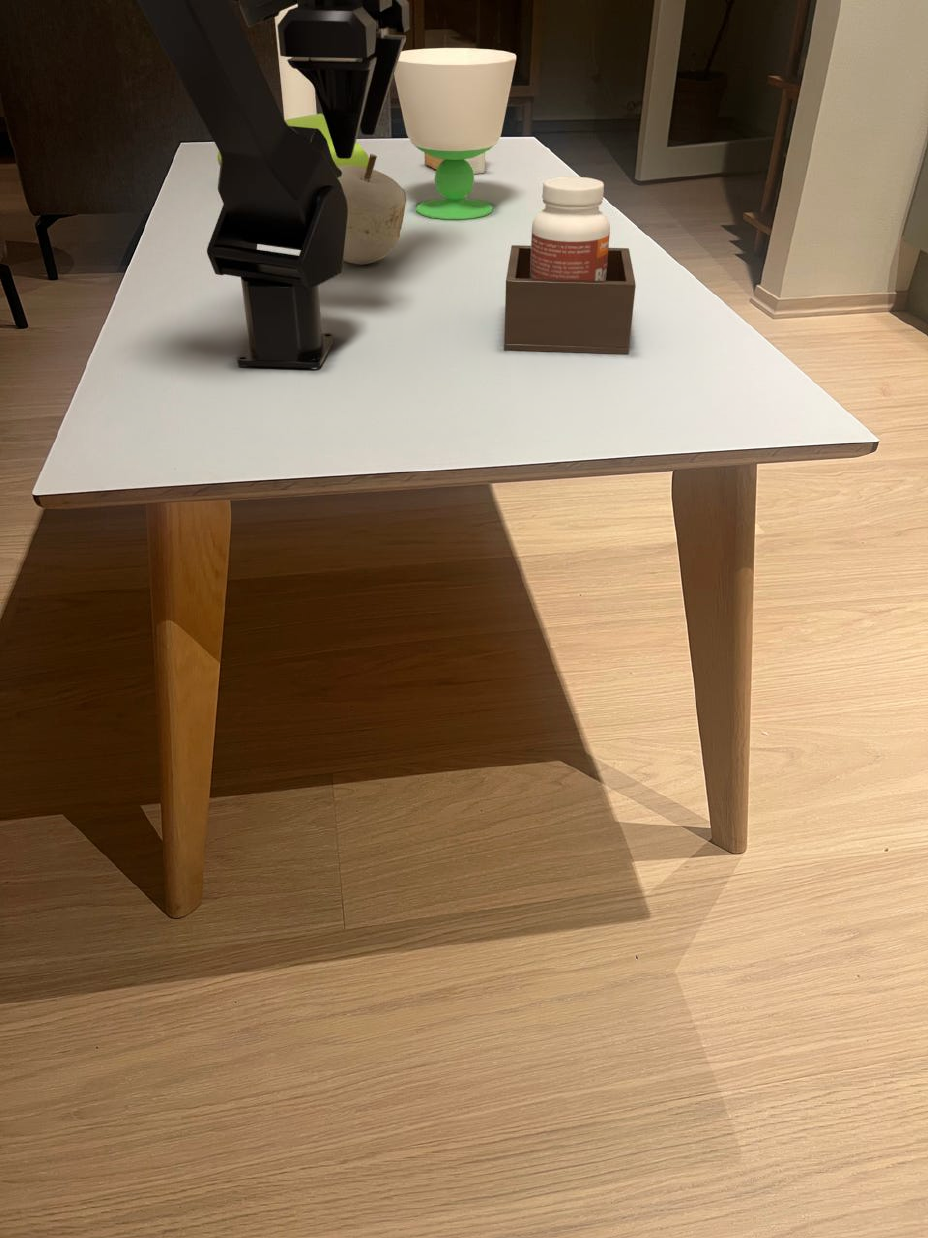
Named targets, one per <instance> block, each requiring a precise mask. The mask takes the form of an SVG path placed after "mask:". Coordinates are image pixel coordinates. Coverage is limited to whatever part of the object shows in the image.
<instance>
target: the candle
mask: <svg viewBox="0 0 928 1238" xmlns="http://www.w3.org/2000/svg"><path fill="white" fill-rule="evenodd" d="M296 7H298V4H296V5H294V6H291V7H289V8H287V9H285V10H282V11H280V13H279V15H278V16H276V17H274V24H275V34H276V35H275V36H276V45H277V53H278V54H277V56H278V65H279V74H280V75H279V76H280V86H281V98H282V107H283V108H282V109H283V118H284V120H287V119H292V118H297V117H303V116H309V115H315V114H318V112H317V100H316V91H315V88H314V86H313V84H312V83H311V82H310V81H309V80H308V79H307V78H306V77H305V76H304V75H302V74H301V73H300V72H299V71H298V70H297V69H294V68H292V67H291V66H290V65H289V63H288V61H287V60H288V59H290V58H292V57H284V56H280V47H279V37H278V26H277V25H278V24H279V23H280V21H281V20H282V19H283V17H284V16H285V15H286V13H287V12H288V11H289V10H290V9H293V8H296Z"/></svg>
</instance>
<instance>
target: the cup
mask: <svg viewBox="0 0 928 1238" xmlns="http://www.w3.org/2000/svg"><path fill="white" fill-rule="evenodd" d="M516 62H517V55H516V53H513V52H509V51H505V50H497V49H489V48H472V47H438V48H437V47H436V48H435V47H434V48H419V49H408V50H403V51H401V54H400V57H399V60H398V63H397V66H396V69H395V72H394V75H393V77H394V81H395V86H396V90H397V96H398V100H399V104H400V108H401V113H402V118H403V119H402V120H403V123H404V128H405V133H406V136H407V138H408V139H409V141H410V143H411V144H412V145H413V146H414V147H416V148H417V149H418V150H419V151H420V152H423V153H424V152H425V153H427V154H429V155H431V156H433V157H435V158H439V159H445V160H443V161H442V162H441V163H440V164H439V166H438V168H437V169H435V173H434V174H435V176H434V184H435V188H436V190H437V191H438V193H439V194H440V195H441V196H443V197H444V198H438V199H431V200H426V201H423V202H421V203H419V204H417V205H416V208H415V211H416V213H418V214H419V215H421V216H423V217H427V218H431V219H438V220H439V219H440V220H458V221H459V220H471V219H477V218H478V219H479V218H482V217H486V216H487V215H489V214H491V213H492V212H493V208H494V206H493V205H491V204H489V203H488V202H485V201H483V200H478V199H470V198H465V197H467V196H468V195H469V194H470V192H471V191H472V189H473V186H474V181H475V174H473V170H472V168H471V166H470V165H469V163H468V162H467V161H465V160H464V159H469V158H473V157H476V156H478V155H480V154H482V153H484V152H485V153H486V152H488V151H490V150H491V149H492V148H493V147H494V146H495V145H497V143H498V141H499V139H500V138H501V137H502V131H503V127H504V122H505V117H506V112H507V107H508V101H509V98H510V92H511V87H512V82H513V78H514V74H515V73H514V72H515V66H516Z"/></svg>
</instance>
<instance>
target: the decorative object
mask: <svg viewBox="0 0 928 1238" xmlns="http://www.w3.org/2000/svg"><path fill="white" fill-rule="evenodd" d="M377 157H378V156H377V155H376V154H373V153H370V154H369V162H368V165H367V168H365V167H360V166H352V165H349V166H340V167H338V168H339V169H340V170H341V171H342V176H341V177H339V178H338V179H339V181H340V183H341V185H342V188H343V192H344V194H345V197H346V200H347V205H348V218H347V228H346V237H345V246H344V256H343V262H345V263H348V264H353V265H360V266H361V265H363V266H364V265H370V264H374V263H376V262H378V261H380V260H382V259H383V258H385V257H386V256H388V254H389V253H390V252H391V251H392V250H393V248H394V247H395V246H396V244H397V243H398V242H399V239H400V237H401V231H402V227H403V223H404V217H405V212H406V211H405V210H406V205H407V204H406V203H407V194H406V191H405V190H404V189H403V187H402V186H401V185H400V184H399V183H398V182H397V181H396V180H395V179H394V178H392V177H390V176H389V175H388V174H385V173H383V172H380V171H378V170H376V169H374V168H375V165H376V162H377Z"/></svg>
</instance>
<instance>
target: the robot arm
mask: <svg viewBox="0 0 928 1238" xmlns="http://www.w3.org/2000/svg"><path fill="white" fill-rule="evenodd" d="M136 1H137V3H138V4H139V6H140V8H141V10H142V12H143V14H144V16H145V18H146V19H147V21H148V23H149V25H150V27H151V28H152V30H153V32H154V34H155V36H156V38H157V39H158V42H159V43H160V45H161V47H162V49H163V51H164V52H165V54H166V56H167V58H168V60H169V61H170V63H171V66H172V67H173V69H174V71H175V72H176V74H177V76H178V78H179V80H180V82H181V84H182V85H183V87H184V89H185V91H186V93H187V95H188V96H189V99H190V100H191V102H192V104H193V105H194V108H195V109H196V111H197V114H198V115H199V116H200V119H201V121H202V122H203V124H204V126H205V127H206V129H207V131H208V134H209V136H210V137H211V139H212V140H213V143H214V144H215V146H216V148H217V150H218V152H220V155H221V164H220V165H219V174H218V182H217V191H218V194H219V196H220V198H221V201H222V203H223V205H222V207H221V210H220V213H219V215H218V218H217V221H216V223H215V226H214V229H213V231H212V234H211V237H210V240H209V242H208V244H207V248H206V254H207V257H208V259H209V262H210V264H211V267H212V269H213V272H214V274H215V275H216V276H217V275H218V276H232V277H237V278H240V283H241V290H242V299H243V306H244V314H245V322H246V329H247V336H248V342H247V344H245V346H244V348H242V350H241V352H240V353H239V354H238V356H237V357H236V364H237V365H238V366H242V367H266V368H267V367H269V368H271V367H273V368H296V369H297V368H298V369H299V368H300V369H318V368H320V367H321V366H322V364H323V363H324V360H325V359H326V357H327V355H328V353H329V352H330V349H331V347H332V346H333V344H334V342H335V334H334V333H332V332H331V333H329V332H323V330H322V329H323V328H322V317H321V305H320V293H319V286H320V285H322V284H324V283H326V282H327V281H329V280H331V279H333V278H335V277H337V276H339V275H341V274H342V271H343V264H344V261H343V256H344V246H345V237H346V228H347V218H348V205H347V200H346V197H345V194H344V192H343V188H342V185H341V183H340V181H339V179H338V178H339V177H341V176H342V171H341V170H340V169H339V168H338V167H337V166H336V164H335V162H334V161H333V159H332V156H331V153H330V150H329V146H328V143H327V140H326V138H325V136H324V135H323V134H322V132H321V131H320V130H319V129H318V128H308V127H297V126H289V125H288V124H287V123H286V122H285V120H284V115H283V114H282V112H281V110H280V108H279V105H278V103H277V101H276V98H275V96H274V94H273V92H272V90H271V88H270V86H269V84H268V81H267V79H266V77H265V75H264V73H263V70H262V68H261V66H260V64H259V62H258V59H257V57H256V55H255V54H254V50H253V49H252V47H251V44H250V42H249V40H248V37H247V35H246V33H245V31H244V29H243V26H242V25H241V22H240V20H239V18H238V15H237V14H236V11H235V9H234V7H233V6H235V7H239V9H240V11H241V14H242V16H243V19H244V21H245V23H246V27H247V28H251V27H253V26H256V25H257V24H258V25H259V24H262V23H265V22H268V21H269V20H272V19H275V17H276V16H278V15H279V13H280V11H282V10H285V9H287V8H289V7H291V6H294V5H296V4H298V7H296V8H293V9H290V10H289V11H288V12H287V13H286V15H285V16H284V17H283V19H282V20H281V21H280V23H279V24H278V25H277V26H278V37H279V47H280V56H284V57H292V58H290V59H288V60H287V61H288V63H289V65H290V66H291V67H292V68H294V69H297V70H298V71H299V72H300V73H301V74H302V75H304V76H305V77H306V78H307V79H308V80H309V81H310V82H311V83H312V84H313V86H314V88H315V95H316V96H317V99H318V102H319V105H320V109H321V111H322V112H321V113H322V115H324V118H325V121H326V124H327V127H328V130H329V134H330V137H331V140H332V143H333V146H334V149H335V153H336V156H337V157H338V158H340V159H349V158H351V157H352V154H353V150H354V146H355V143H356V142H357V139H358V134H359V131H360V133H361V134H362V135H364V136H373V135H375V133H376V132H377V128H378V125H379V123H380V118H381V116H382V113H383V108H384V106H385V102H386V99H387V97H388V93H389V90H390V88H391V85H392V81H393V78H394V72H395V69H396V66H397V63H398V60H399V57H400V54H401V52H402V50H403V48H404V45H405V43H406V40H407V35H403V34H390V33H389V32H390V31H389V29H396V32H397V33H406V32H407V31H408V30H410V29H411V27H410V2H409V1H408V0H136ZM258 245H260V246H268V247H275V248H281V249H288V250H296V251H299V254H298V255H297V254H292V253H286V252H285V253H284V252H277V251H270V250H263V249H258Z"/></svg>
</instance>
